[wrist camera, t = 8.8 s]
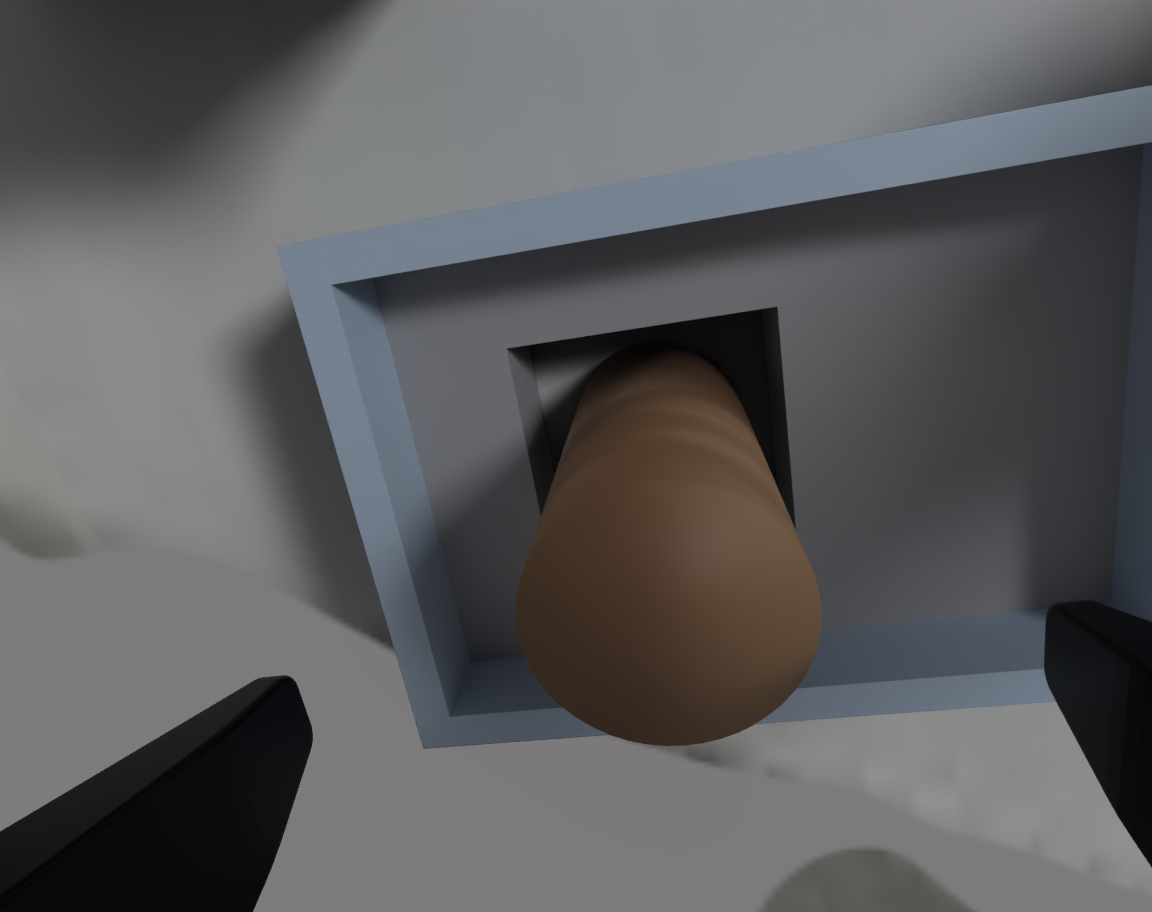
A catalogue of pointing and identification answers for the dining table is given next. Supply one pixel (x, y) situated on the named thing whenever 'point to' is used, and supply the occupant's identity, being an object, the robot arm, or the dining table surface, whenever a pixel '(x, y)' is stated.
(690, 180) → the box
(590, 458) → the peg
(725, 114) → the dining table surface
